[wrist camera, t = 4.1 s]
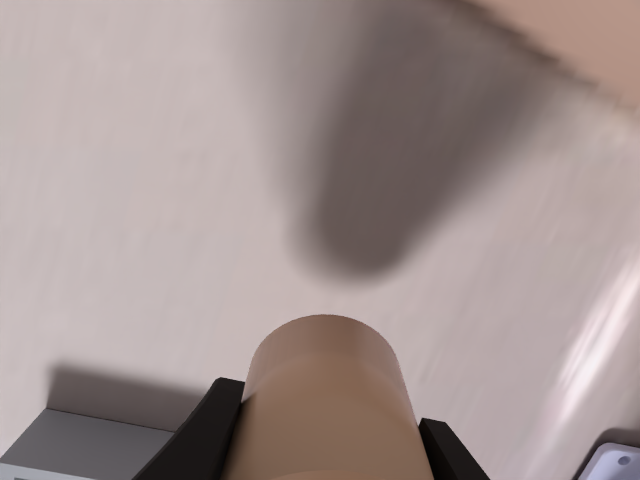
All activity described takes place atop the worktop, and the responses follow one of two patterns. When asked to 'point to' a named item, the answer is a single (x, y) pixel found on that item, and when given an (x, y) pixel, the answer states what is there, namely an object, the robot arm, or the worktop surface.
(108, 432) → the divided tray
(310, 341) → the tan capsule
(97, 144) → the worktop surface
